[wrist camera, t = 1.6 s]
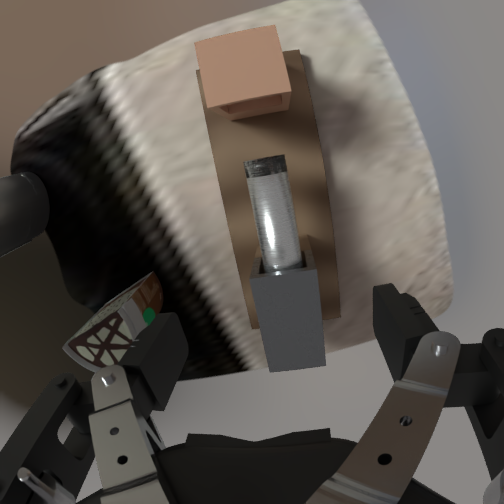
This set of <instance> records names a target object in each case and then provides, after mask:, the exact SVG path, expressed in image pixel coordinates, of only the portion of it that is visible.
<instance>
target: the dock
mask: <svg viewBox="0 0 504 504" xmlns="http://www.w3.org/2000/svg"><path fill="white" fill-rule="evenodd" d="M282 53H283V57H284V61H285V65H286V69H287V73H288V78H289V82H290V86H291V91H292V92H291V97H290V103H289V109H288V110H286V111H279V112H273V113H268V114H262V115H257V116H252V117H247V118H242V119H237V120H233V121H230V120H228V119H226V118H225V117H223V116H221V115H219V114H217V113H215V112H214V111H212V110H210V109H208V108H207V104H206V99H205V94H204V89H203V84H202V79H201V74H200V69H199V70H196V74H197V79H198V84H199V89H200V94H201V99H202V104H203V109H204V114H205V119H206V124H207V129H208V134H209V138H210V143H211V148H212V153H213V158H214V162H215V167H216V172H217V176H218V181H219V186H220V190H221V195H222V200H223V204H224V209H225V213H226V218H227V222H228V227H229V231H230V236H231V240H232V245H233V249H234V254H235V258H236V262H237V267H238V271H239V275H240V280H241V284H242V288H243V293H244V297H245V301H246V306H247V310H248V314H249V318H250V323H251V327H252V329H259V328H260V326H259V322H258V317H257V313H256V308H255V304H254V299H253V294H252V290H251V285H250V281H249V278H250V274H251V269H252V265H253V261H254V258H258V257H262V254H261V249H260V244H259V239H258V234H257V229H256V224H255V219H254V214H253V209H252V204H251V199H250V194H249V189H248V184H247V179H246V174H245V169H244V164H243V162H244V161H249V160H253V159H259V158H264V157H270V156H276V155H282V154H284V155H285V160H286V165H287V171H288V176H289V182H290V187H291V193H292V199H293V205H294V211H295V217H296V223H297V230H298V236H299V242H300V249H301V256H302V263H303V268H305V267H306V260H305V253H304V250H310V249H311V250H312V254H313V257H314V261H315V265H316V268H317V276H318V284H319V293H320V303H321V313H322V320H326V319H332V318H339V317H341V315H340V299H339V286H338V274H337V263H336V253H335V243H334V234H333V226H332V218H331V210H330V203H329V196H328V189H327V182H326V176H325V170H324V164H323V158H322V152H321V146H320V141H319V135H318V130H317V125H316V120H315V115H314V110H313V105H312V101H311V96H310V92H309V87H308V83H307V79H306V75H305V70H304V66H303V62H302V58H301V55H300V51H299V50H291V51H284V52H282ZM262 263H263V259H262ZM263 268H264V265H263ZM264 273H265V270H264Z"/></svg>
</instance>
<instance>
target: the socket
mask: <svg viewBox="0 0 504 504" xmlns="http://www.w3.org/2000/svg"><path fill="white" fill-rule="evenodd" d="M194 44H195V49H196V54H197V59H198V64H199V69H200V74H201V79H202V84H203V89H204V94H205V99H206V104H207V108H208V109H210V110H212V111H214V112H215V113H217V114H219V115H221V116H223V117H225V118H226V119H228V120H230V121H233V120H237V119H242V118H247V117H252V116H257V115H262V114H268V113H273V112H279V111H286V110H288V109H289V103H290V97H291V92H292V91H291V86H290V82H289V78H288V73H287V69H286V65H285V61H284V57H283V53H282V49H281V45H280V41H279V37H278V34H277V30H276V26H275V25H271V26H265V27H259V28H253V29H248V30H243V31H238V32H234V33H229V34H225V35H221V36H217V37H213V38H209V39H205V40H202V41H198V42H195V43H194Z"/></svg>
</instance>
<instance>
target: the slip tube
mask: <svg viewBox="0 0 504 504" xmlns="http://www.w3.org/2000/svg"><path fill="white" fill-rule="evenodd" d="M243 164H244V169H245V174H246V179H247V184H248V189H249V194H250V199H251V204H252V209H253V214H254V219H255V224H256V229H257V234H258V239H259V244H260V249H261V254H262V259H263V265H264V270H265V273H271V272H278V271H285V270H292V269H299V268H303V263H302V256H301V249H300V242H299V236H298V230H297V223H296V217H295V211H294V205H293V199H292V193H291V187H290V182H289V176H288V171H287V165H286V160H285V155H284V154H282V155H276V156H270V157H264V158H259V159H253V160H249V161H244V162H243Z"/></svg>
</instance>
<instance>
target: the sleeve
mask: <svg viewBox="0 0 504 504" xmlns="http://www.w3.org/2000/svg"><path fill="white" fill-rule="evenodd" d="M304 253H305V260H306V267H305V268H299V269H292V270H285V271H278V272H271V273H264V268H263V263H262V257H258V258H254V261H253V265H252V269H251V274H250V278H249V281H250V285H251V290H252V294H253V299H254V304H255V308H256V313H257V317H258V322H259V326H260V331H261V335H262V340H263V344H264V349H265V353H266V357H267V362H268V366H269V371H270V372H280V371H289V370H297V369H305V368H313V367H320V366H326V360H325V347H324V335H323V323H322V313H321V303H320V293H319V284H318V276H317V268H316V265H315V261H314V257H313V254H312V250H311V249H310V250H304Z"/></svg>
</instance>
